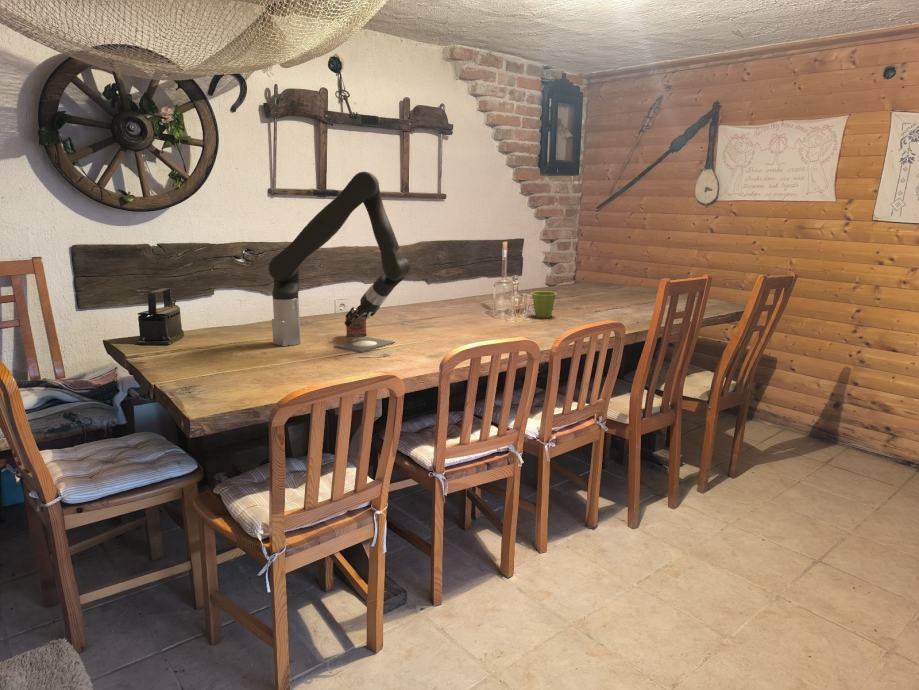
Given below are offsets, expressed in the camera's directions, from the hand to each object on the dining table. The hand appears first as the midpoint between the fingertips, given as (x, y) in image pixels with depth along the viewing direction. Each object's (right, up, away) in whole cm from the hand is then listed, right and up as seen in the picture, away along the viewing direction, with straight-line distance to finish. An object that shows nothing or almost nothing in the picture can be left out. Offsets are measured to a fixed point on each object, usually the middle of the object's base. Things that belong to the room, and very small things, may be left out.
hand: (353, 323), depth 247 cm
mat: (+7, -9, -14) cm, 18 cm away
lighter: (+1, -5, 0) cm, 6 cm away
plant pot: (+81, +4, +43) cm, 91 cm away
